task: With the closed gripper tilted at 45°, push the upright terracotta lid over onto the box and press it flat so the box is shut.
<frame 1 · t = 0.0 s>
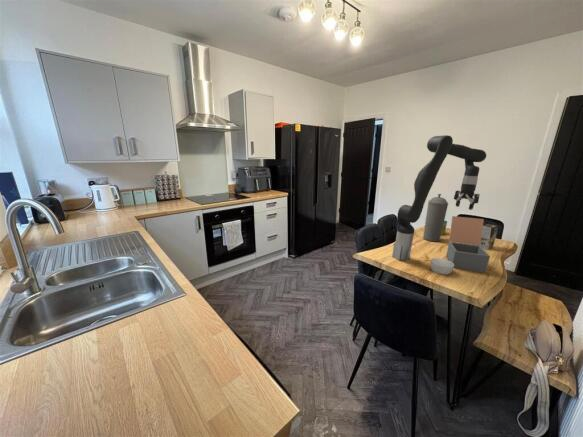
hand: (463, 207, 153), 29 cm above the table, tool pointing down, fingers open, 8 cm apart
ramekin: (440, 271, 132), on the table
canister: (431, 239, 180), on the table
coffee box: (485, 247, 166), on the table
lid: (465, 230, 145), point 18 cm above the table, hinge at 105.0°
box: (464, 264, 140), on the table
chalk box: (435, 233, 194), on the table
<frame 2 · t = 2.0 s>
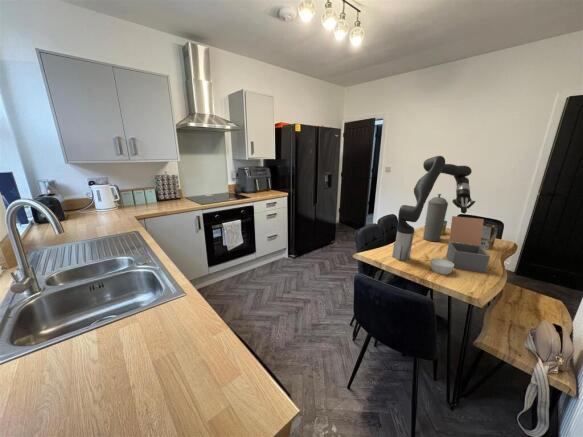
hand: (464, 212, 152), 27 cm above the table, tool tilted 45°, fingers closed
nothing on the table moved.
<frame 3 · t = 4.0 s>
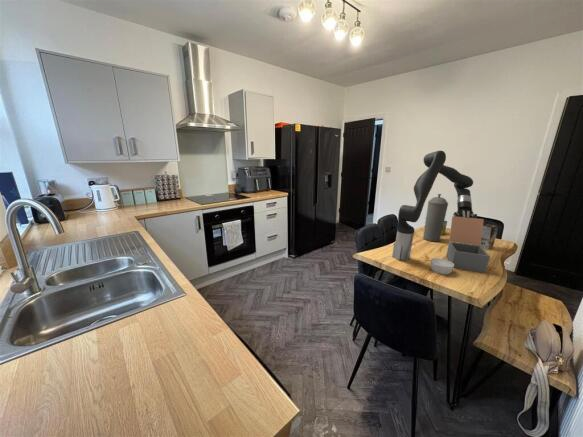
hand: (465, 226, 146), 20 cm above the table, tool tilted 45°, fingers closed
lid: (465, 230, 145), point 18 cm above the table, hinge at 105.0°, touching gripper
everything else where it was.
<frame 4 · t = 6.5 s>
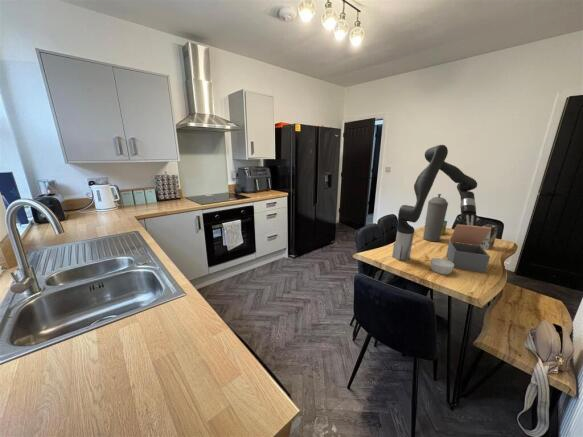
hand: (469, 232, 138), 19 cm above the table, tool tilted 45°, fingers closed
lid: (468, 234, 139), point 17 cm above the table, hinge at 56.2°, touching gripper
everything else where it was.
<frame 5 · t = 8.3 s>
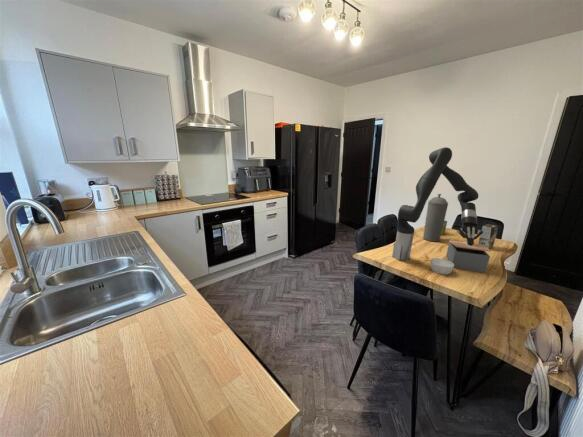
hand: (470, 245, 135), 13 cm above the table, tool tilted 45°, fingers closed
lid: (468, 245, 137), point 12 cm above the table, hinge at 8.7°, touching gripper
everything else where it was.
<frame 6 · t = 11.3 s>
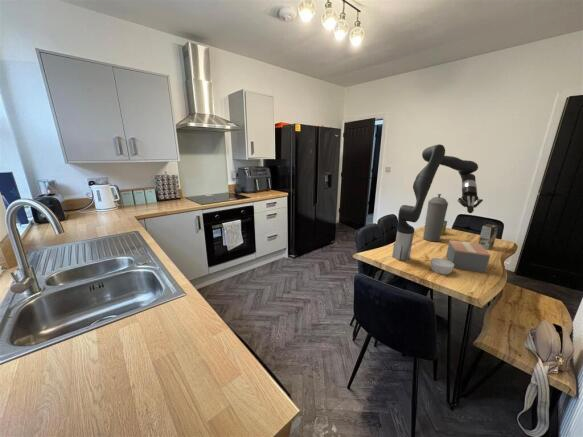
hand: (470, 212, 142), 29 cm above the table, tool tilted 45°, fingers closed
lid: (468, 247, 138), point 11 cm above the table, hinge at -0.4°
everything else where it was.
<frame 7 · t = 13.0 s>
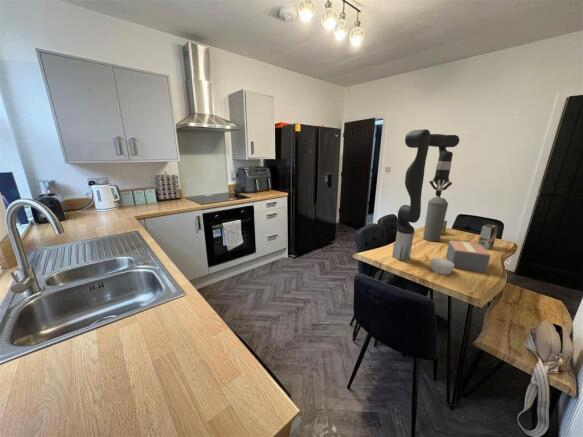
hand: (437, 196, 152), 37 cm above the table, tool pointing down, fingers closed
nothing on the table moved.
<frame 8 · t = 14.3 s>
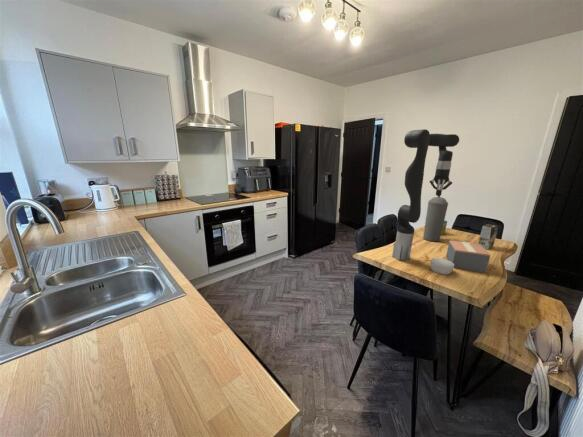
hand: (438, 195, 152), 37 cm above the table, tool pointing down, fingers closed
nothing on the table moved.
at the end: lid at +0° (first picture: +105°) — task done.
